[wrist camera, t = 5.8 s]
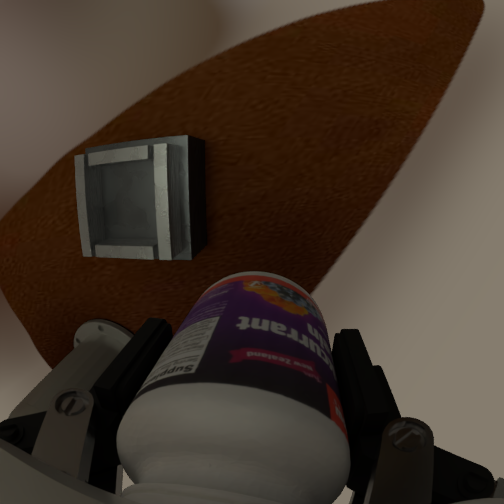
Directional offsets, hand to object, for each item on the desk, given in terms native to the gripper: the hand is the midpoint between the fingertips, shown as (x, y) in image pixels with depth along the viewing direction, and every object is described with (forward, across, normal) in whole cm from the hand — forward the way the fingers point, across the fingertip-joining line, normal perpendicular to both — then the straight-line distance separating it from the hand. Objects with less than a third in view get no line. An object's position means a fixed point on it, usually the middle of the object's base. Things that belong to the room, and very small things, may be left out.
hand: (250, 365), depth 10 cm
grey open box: (+19, +11, -4) cm, 23 cm away
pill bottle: (+3, 0, 0) cm, 3 cm away
